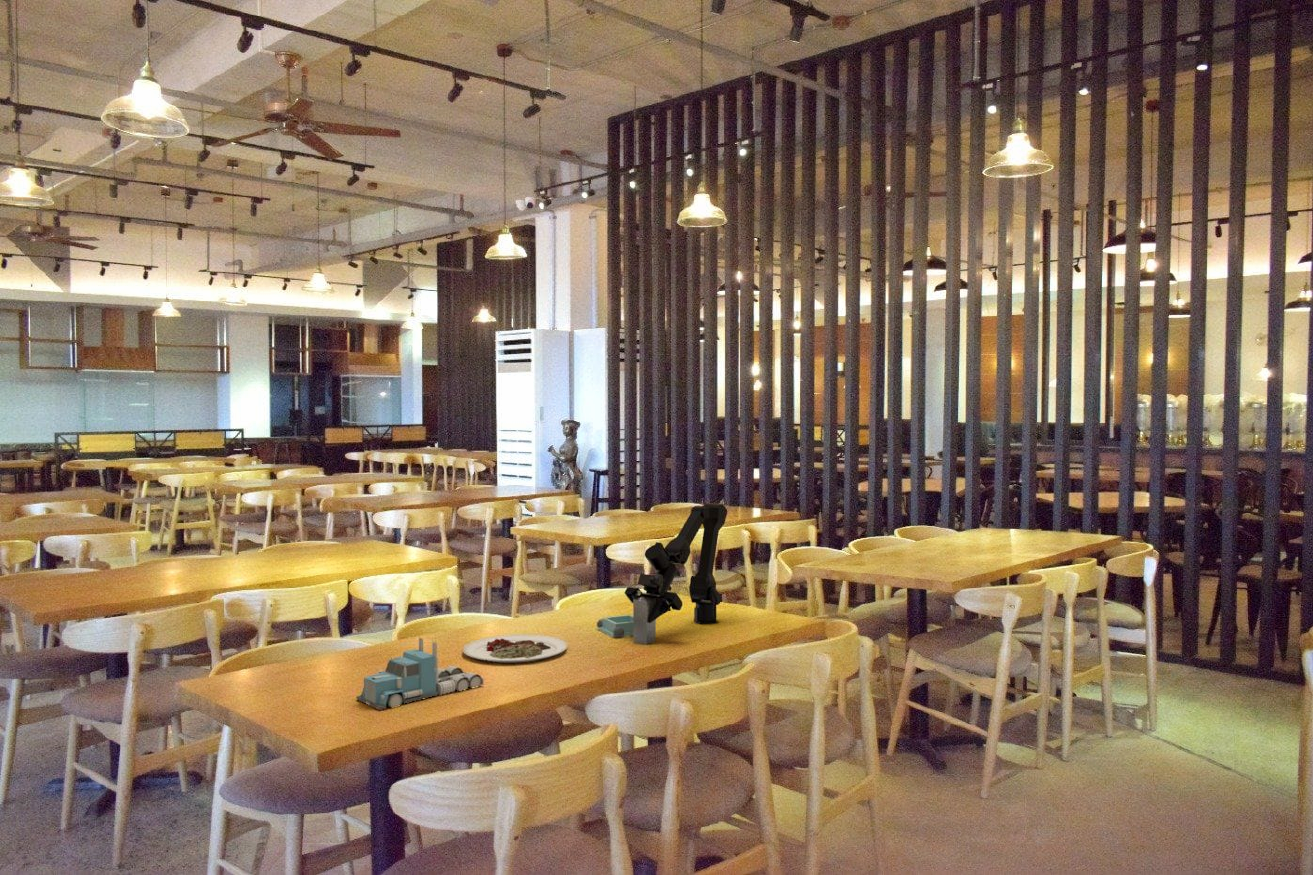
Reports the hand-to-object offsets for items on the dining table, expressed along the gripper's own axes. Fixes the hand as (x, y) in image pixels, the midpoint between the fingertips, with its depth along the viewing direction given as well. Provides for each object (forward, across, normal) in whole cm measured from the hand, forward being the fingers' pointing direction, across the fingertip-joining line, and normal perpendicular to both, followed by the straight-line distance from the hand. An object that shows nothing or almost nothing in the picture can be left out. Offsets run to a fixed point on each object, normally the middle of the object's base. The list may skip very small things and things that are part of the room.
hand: (641, 621), depth 289 cm
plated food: (+26, -23, -16) cm, 39 cm away
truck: (+56, -14, -46) cm, 74 cm away
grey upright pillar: (+4, 0, +6) cm, 7 cm away
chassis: (-1, -14, +10) cm, 17 cm away
